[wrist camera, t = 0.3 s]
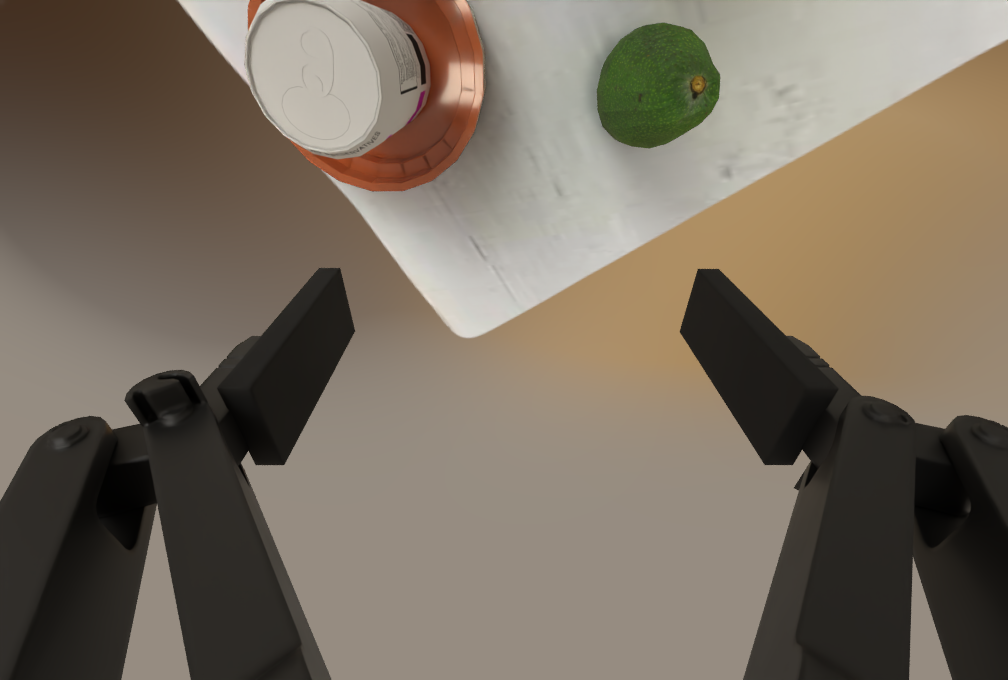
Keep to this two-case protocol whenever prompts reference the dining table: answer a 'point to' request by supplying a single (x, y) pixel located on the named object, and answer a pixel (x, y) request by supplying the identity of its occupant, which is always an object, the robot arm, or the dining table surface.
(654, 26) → the avocado
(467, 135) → the bowl
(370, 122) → the supplement can
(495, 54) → the dining table surface
